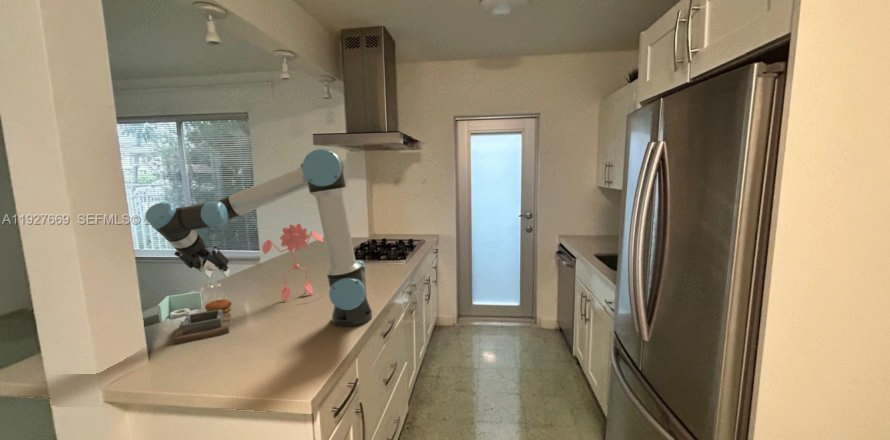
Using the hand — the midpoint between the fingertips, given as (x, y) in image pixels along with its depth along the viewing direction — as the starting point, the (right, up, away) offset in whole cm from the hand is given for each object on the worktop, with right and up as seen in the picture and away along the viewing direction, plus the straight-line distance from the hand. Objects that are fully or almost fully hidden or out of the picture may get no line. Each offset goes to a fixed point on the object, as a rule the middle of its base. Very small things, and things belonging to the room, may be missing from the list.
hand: (219, 274), depth 133 cm
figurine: (+20, -16, +27) cm, 37 cm away
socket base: (-4, -20, -3) cm, 21 cm away
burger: (-10, -19, +15) cm, 26 cm away
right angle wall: (-24, -20, +13) cm, 33 cm away
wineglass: (0, -4, -3) cm, 5 cm away
